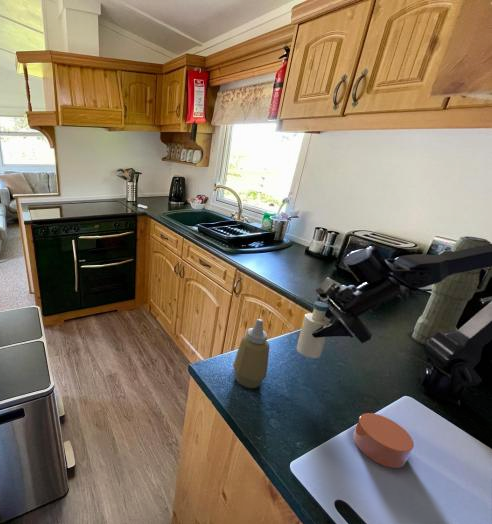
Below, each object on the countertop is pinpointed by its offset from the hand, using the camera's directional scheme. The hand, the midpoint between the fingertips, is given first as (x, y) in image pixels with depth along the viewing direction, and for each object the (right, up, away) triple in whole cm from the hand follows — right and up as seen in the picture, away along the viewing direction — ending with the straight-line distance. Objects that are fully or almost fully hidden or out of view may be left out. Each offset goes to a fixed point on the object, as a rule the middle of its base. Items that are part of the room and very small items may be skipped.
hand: (308, 329), depth 74 cm
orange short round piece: (+5, -20, -16) cm, 26 cm away
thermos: (+52, -9, +21) cm, 57 cm away
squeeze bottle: (-15, -14, +1) cm, 21 cm away
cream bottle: (+1, -6, +2) cm, 7 cm away
